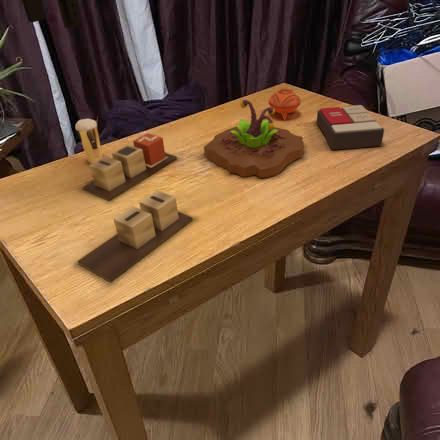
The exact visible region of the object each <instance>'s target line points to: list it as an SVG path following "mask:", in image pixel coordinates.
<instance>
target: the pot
mask: <svg viewBox="0 0 440 440" xmlns="http://www.w3.org/2000/svg"><path fill="white" fill-rule="evenodd" d="M301 104H302V101H301V98H300V96H298V94H296V93H295V92H294V90H293V89H292V88H287V87H283V88H279V89H278V90H277V91H276V92H273V94H272V95H271V96H270V97H269V99H268V105H269V107H272V108H273V109H274V110H275V113H277V114H281V116H282V120H283V121H285V120H286V119H287V116H288V114H291V113H292V114H293V113H294V111H295V110H297V109H298V108H299V107H300V105H301Z"/></svg>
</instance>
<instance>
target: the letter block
mask: <svg viewBox="0 0 440 440" xmlns="http://www.w3.org/2000/svg"><path fill="white" fill-rule="evenodd" d="M132 142H133V146H134V147H137V148H139V149H142V150H143V155H144V160H145V164H148V165H151V166H152V165H154V164H155V163H157V162H159V161H160V160H162V159H164V158H165V157H166V156H165V153H166V149H165V144H164V137H162V136H158V135H156V134H152V133H150V132H146V133H145V134H143V135H142V136H140V137H137V138H136V139H134V140H133V141H132Z"/></svg>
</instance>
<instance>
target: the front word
mask: <svg viewBox="0 0 440 440" xmlns="http://www.w3.org/2000/svg"><path fill="white" fill-rule="evenodd" d="M138 204H139V207H137V206H132V205H131V206H130V207H129V208H127V209H126V210H125V211H123V212H121V213H119V214H118V215H117V216H115V217H114V218H112V219H113V222H114V226H115V230H116V234H114V235H113V236H112V237H110V238H109V239H108V240H106V241H105V242H103V243H102V244H100V245H99V246H97V247H96V248H94V249H93V250H91V251H90V252H89V253H87V254H85V256H83V257H81V258H80V259H78V260H77V264H78V265H79V266H81V267H82V268H85V269H86V270H88V271H90V272H91V273H94V274H95V275H97V276H99V277H101V278H102V279H104V280H106V281H107V282H109V283H112V282H114V281H115V280H116V279H117V278H119V277H120V276H121V275H122V274H124V273H125V272H127V271H128V270H130V268H132V267H134V265H136V264H137V263H138V262H139V261H142V259H144V258H145V257H146V256H147V255H149V254H150V253H152V252H153V251H154V250H155V249H157V248H158V247H159V246H161V245H162V244H164V242H166V241H167V240H169V239H170V238H171V237H172V236H174V235H175V234H177V233H178V232H179V231H180V230H182V229H183V228H185V227H186V226H187V225H189V223H192V221H193V219H194V218H193V217H192V216H190V215H188V214H185V213H182V212H180V211H178V205H177V198H176V196H173V195H170V194H169V193H166V192H163V191H160V190H158V189H156V190H155V191H152V192H151V193H150V194H148V195H147V196H146V197H144V198H142V199H141V200H139V201H138Z"/></svg>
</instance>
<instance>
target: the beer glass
mask: <svg viewBox="0 0 440 440" xmlns="http://www.w3.org/2000/svg"><path fill="white" fill-rule="evenodd" d="M98 119H99V117H97V118H96V120H94V119H91V118H83V119H79V120H78V121H77V122H76V123H75V130H76V131H75V132H76V133H77V135H78V138H79V140H80V142H81V146H82V148H83V150H84V153H85V156H86V158H87V161H88V163H89V164H92V163H94V162H96V161H98V160H100V159H101V158H103V157H104V156H103V152H102V147H101V141H100V133H99V128H98Z"/></svg>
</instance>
